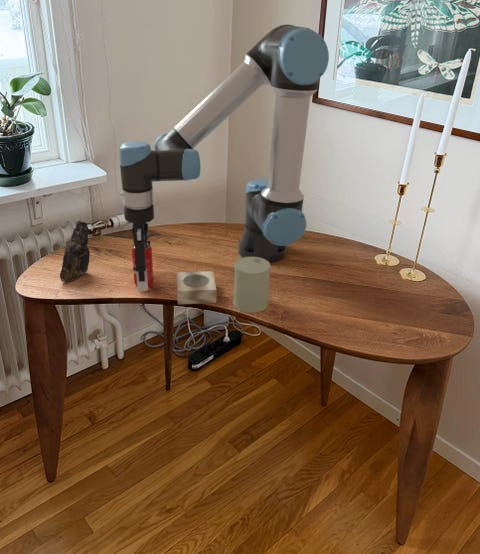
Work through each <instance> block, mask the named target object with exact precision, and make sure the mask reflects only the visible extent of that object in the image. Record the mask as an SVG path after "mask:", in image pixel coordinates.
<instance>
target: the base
mask: <svg viewBox="0 0 480 554" xmlns="http://www.w3.org/2000/svg"><path fill="white" fill-rule="evenodd" d="M176 290H177V305H193V304H194V305H195V304H197V305H198V304H216V303H217V285H216V279H215V273H214V271H208V270H207V271H182V272H180V271H179V272H178V271H177V272H176Z"/></svg>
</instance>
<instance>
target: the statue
mask: <svg viewBox="0 0 480 554" xmlns="http://www.w3.org/2000/svg"><path fill="white" fill-rule="evenodd" d="M75 224H76V225H75V227H74V228H73V231H72V234H71V237H70V242H71V244H70V245H67V246H66V247H65V250H64V254H63V257H62V264H61V270H60V273H59V279H60V280H61V282H62V283H68V282H72V281H74V280H76V279H78V278H80V277H82V276H83V275H85V274H86V273H87V272H88V268H89V264H90V257H91V256H90V255H91V254H90V253H91V252H90V248H89V247H88V243H89V231H88V223H87V221H83V220H82V221H81V220H77V221H76V223H75Z"/></svg>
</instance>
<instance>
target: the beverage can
mask: <svg viewBox="0 0 480 554" xmlns="http://www.w3.org/2000/svg"><path fill="white" fill-rule="evenodd" d="M152 249H153V248H152V246H151V243H150V244H149V243H148V242H147V244H146V245H145V252H146V268H147V280H148V289H150V288H151V287H152V286H153V283H154V269H153V268H154V267H153V250H152ZM131 255H132V271H133V281H134V284H135V286H136V287H137V277H136V271H135V270H133V268H136V267H135V244H134V243H133V244H132V247H131Z"/></svg>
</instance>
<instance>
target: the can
mask: <svg viewBox="0 0 480 554" xmlns="http://www.w3.org/2000/svg"><path fill="white" fill-rule="evenodd" d="M270 274H271V262H268V261H267V260H265V259H263V258H259V257H241V258H238V259H237V260H236V261H235V262H234V283H233V284H234V289H233V291H234V293H233V306H234V308H235V309H237V311H240V312H244V313H247V314H248V313H249V314H256V313H260V312H264V311H265V310H266V309H267V308H268V307H269V288H270V276H271V275H270Z"/></svg>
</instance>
